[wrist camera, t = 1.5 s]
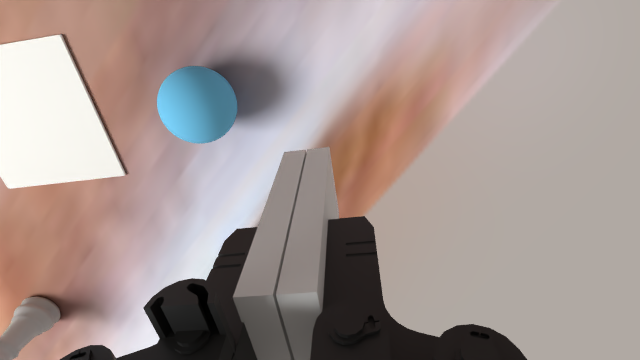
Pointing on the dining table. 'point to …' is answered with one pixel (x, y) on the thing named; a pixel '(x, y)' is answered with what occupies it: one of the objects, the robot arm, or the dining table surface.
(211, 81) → the ball
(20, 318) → the rook chess piece
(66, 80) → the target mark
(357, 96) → the dining table surface
